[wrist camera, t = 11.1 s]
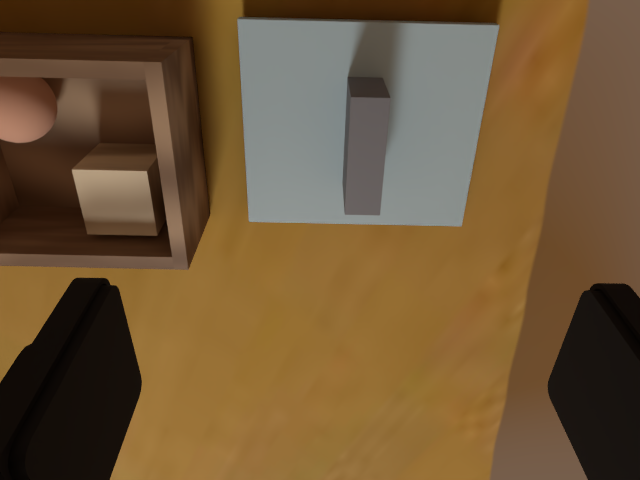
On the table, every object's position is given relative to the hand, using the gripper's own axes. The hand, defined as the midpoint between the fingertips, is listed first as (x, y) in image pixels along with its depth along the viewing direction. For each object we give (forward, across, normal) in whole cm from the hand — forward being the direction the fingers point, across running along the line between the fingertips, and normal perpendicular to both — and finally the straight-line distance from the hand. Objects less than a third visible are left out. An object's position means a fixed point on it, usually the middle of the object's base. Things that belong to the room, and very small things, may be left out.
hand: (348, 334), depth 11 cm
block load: (+28, +14, +10) cm, 33 cm away
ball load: (+29, +21, +4) cm, 36 cm away
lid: (+30, -3, +7) cm, 31 cm away
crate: (+29, +17, +8) cm, 35 cm away
